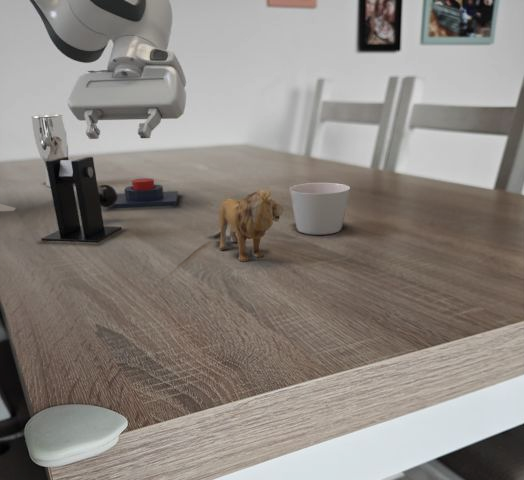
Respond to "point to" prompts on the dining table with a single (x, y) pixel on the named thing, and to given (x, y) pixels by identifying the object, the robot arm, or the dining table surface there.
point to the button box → (145, 198)
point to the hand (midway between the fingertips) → (117, 136)
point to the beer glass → (50, 138)
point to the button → (143, 184)
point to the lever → (105, 191)
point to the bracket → (67, 205)
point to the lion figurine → (248, 220)
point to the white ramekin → (319, 207)
